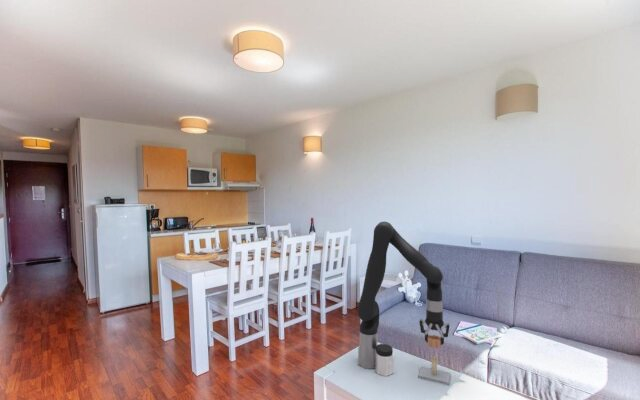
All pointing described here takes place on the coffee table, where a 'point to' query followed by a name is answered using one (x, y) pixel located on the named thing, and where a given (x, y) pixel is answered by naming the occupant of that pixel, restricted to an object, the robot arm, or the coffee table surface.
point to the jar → (384, 359)
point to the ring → (434, 341)
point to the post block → (434, 373)
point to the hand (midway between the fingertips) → (434, 343)
